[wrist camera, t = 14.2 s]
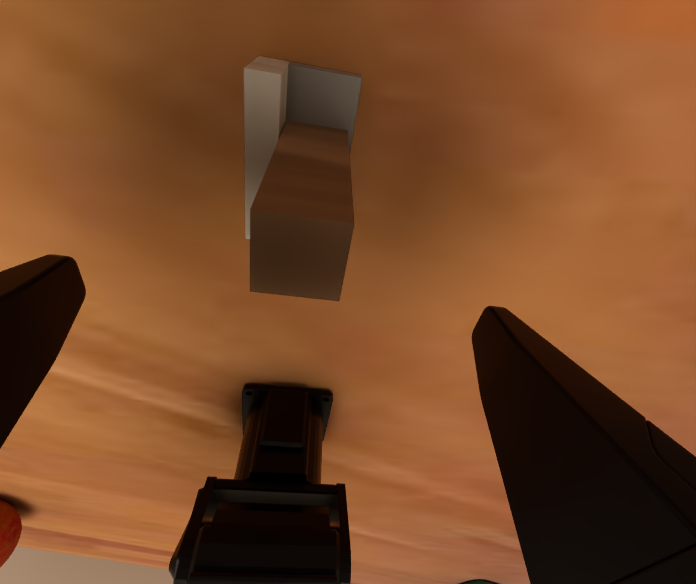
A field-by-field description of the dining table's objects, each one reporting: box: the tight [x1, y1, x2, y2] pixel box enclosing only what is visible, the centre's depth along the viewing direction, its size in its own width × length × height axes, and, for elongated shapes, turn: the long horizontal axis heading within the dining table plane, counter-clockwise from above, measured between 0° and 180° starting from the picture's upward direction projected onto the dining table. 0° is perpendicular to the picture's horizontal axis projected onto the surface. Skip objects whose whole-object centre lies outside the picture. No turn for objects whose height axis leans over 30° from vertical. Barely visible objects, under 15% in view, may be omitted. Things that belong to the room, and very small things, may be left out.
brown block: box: [244, 56, 362, 301], centre depth 13 cm, size 6×4×9 cm, turn 171°
